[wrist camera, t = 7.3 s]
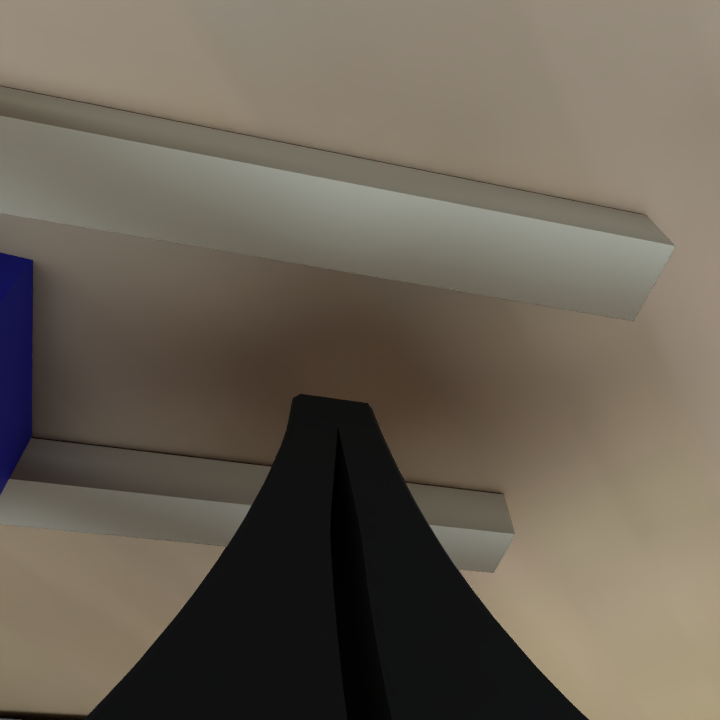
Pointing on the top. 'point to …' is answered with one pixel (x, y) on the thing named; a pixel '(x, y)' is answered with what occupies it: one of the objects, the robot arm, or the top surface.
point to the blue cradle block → (15, 361)
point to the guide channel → (300, 246)
